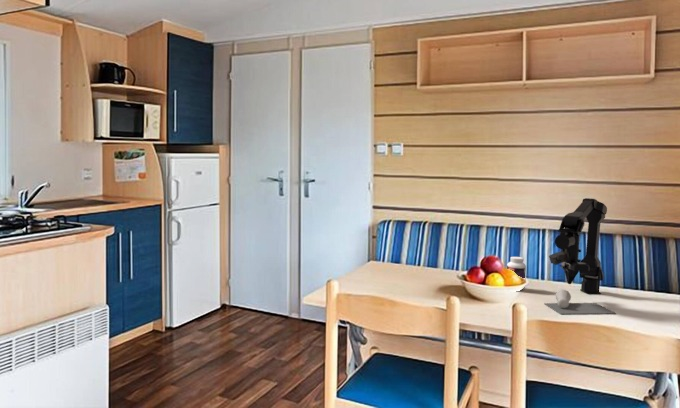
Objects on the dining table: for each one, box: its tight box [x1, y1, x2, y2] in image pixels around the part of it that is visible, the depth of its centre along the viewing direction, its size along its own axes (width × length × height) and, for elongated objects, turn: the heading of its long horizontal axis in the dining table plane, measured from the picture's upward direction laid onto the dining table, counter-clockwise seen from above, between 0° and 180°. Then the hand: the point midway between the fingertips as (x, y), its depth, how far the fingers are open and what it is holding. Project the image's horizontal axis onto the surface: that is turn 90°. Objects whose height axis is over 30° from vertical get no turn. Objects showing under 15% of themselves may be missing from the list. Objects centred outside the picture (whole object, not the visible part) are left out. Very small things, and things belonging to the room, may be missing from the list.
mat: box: [543, 302, 617, 316], centre depth 216 cm, size 22×14×1 cm, turn 95°
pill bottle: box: [506, 256, 527, 291], centre depth 245 cm, size 8×8×14 cm
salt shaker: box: [555, 289, 572, 309], centre depth 220 cm, size 6×6×13 cm
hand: (569, 283), depth 224 cm, fingers closed
